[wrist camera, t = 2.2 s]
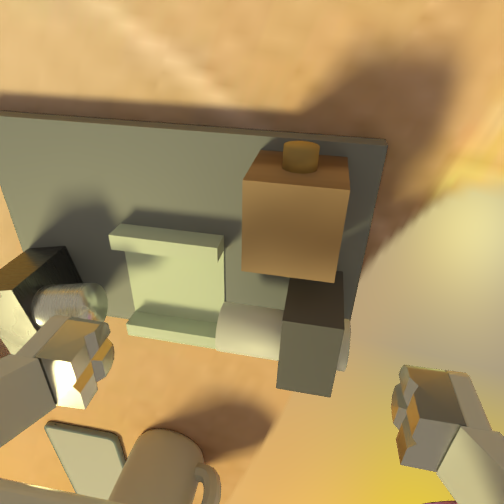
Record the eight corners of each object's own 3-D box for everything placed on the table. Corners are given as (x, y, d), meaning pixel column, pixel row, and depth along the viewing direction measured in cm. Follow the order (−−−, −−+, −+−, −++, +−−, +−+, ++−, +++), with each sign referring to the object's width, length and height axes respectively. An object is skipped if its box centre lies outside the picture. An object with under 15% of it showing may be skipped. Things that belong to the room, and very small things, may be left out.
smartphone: (76, 496, 47) (40, 425, 39) (80, 488, 48) (46, 416, 40) (138, 510, 46) (115, 439, 38) (141, 501, 47) (119, 430, 39)
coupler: (261, 129, 19) (242, 156, 15) (350, 136, 18) (354, 166, 15) (256, 243, 22) (241, 287, 19) (331, 252, 22) (331, 300, 18)
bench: (385, 139, 19) (403, 183, 14) (343, 340, 27) (344, 417, 21) (-8, 110, 22) (-112, 136, 17) (51, 296, 30) (-9, 354, 25)
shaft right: (107, 242, 24) (59, 288, 20) (132, 303, 27) (95, 355, 23) (19, 248, 26) (-42, 292, 22) (50, 305, 29) (1, 354, 24)
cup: (127, 425, 37) (75, 525, 30) (222, 430, 35) (192, 542, 27) (150, 467, 41) (109, 567, 33) (238, 475, 38) (215, 585, 31)
